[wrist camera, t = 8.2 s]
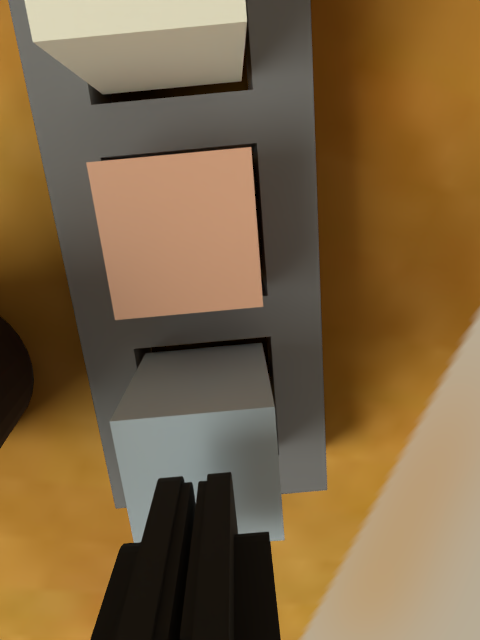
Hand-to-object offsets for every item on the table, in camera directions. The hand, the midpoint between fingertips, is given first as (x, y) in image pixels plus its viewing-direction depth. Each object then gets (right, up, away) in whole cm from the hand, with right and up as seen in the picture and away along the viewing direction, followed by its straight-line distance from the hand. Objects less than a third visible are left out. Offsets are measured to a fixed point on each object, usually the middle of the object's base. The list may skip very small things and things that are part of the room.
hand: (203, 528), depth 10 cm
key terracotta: (-1, +8, +5) cm, 10 cm away
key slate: (0, +2, +5) cm, 6 cm away
